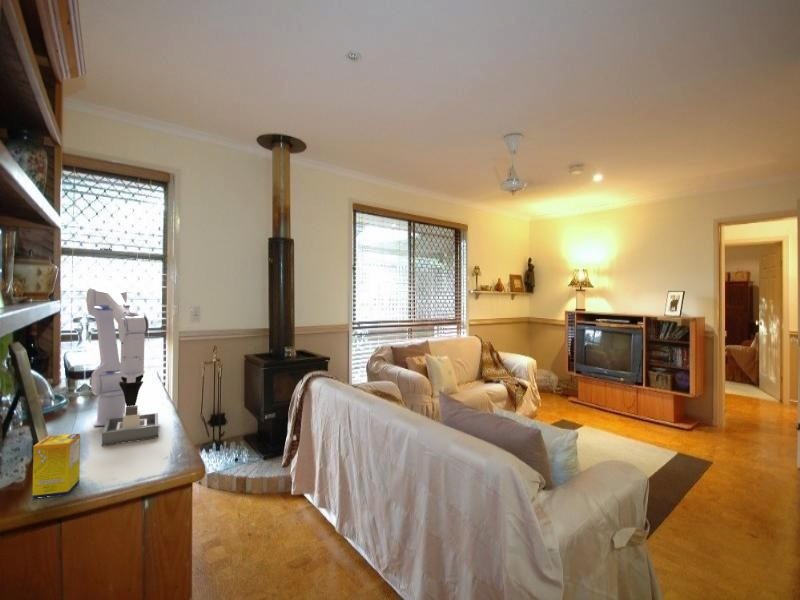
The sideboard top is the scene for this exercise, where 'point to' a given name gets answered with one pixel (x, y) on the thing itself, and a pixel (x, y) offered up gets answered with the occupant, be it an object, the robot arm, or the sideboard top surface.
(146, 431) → the walled box
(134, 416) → the connector
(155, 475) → the sideboard top surface
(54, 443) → the supplement box
